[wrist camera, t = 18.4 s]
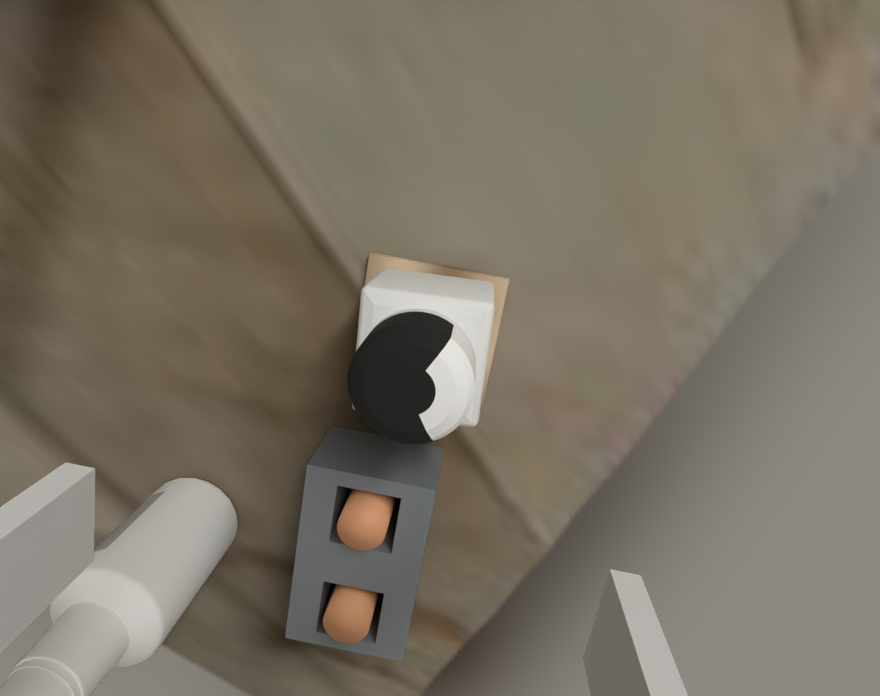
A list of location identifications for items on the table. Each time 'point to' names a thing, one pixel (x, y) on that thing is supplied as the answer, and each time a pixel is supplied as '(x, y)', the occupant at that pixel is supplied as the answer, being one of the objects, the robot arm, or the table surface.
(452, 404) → the medicine bottle
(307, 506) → the grey plunger block
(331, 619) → the plunger
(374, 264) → the cork pad
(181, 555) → the spray bottle
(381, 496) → the plunger
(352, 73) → the table surface
